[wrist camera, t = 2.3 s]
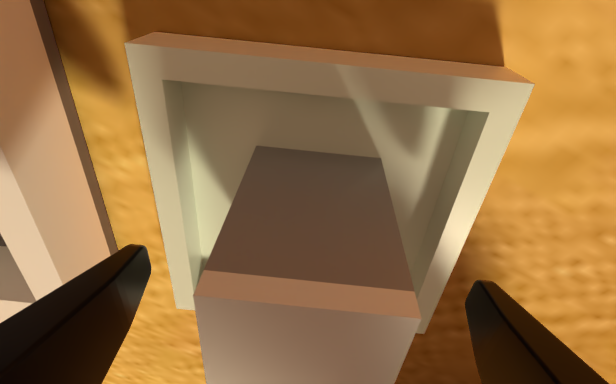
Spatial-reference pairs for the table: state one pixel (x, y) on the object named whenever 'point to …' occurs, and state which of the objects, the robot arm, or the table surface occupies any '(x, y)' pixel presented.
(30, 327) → the robot arm
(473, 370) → the table surface
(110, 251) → the power strip
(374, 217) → the plug
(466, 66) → the tray
